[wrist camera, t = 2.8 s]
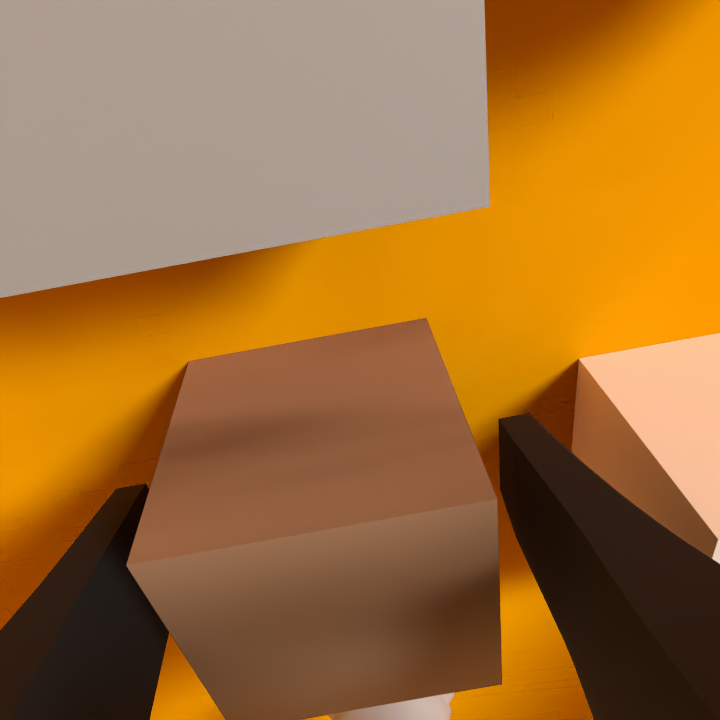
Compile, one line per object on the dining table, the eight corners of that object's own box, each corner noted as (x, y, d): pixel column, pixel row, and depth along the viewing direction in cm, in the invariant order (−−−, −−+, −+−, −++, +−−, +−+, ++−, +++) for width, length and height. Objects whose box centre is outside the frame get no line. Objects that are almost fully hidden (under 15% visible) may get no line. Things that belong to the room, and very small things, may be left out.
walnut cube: (442, 482, 14) (502, 684, 10) (252, 516, 14) (232, 731, 10) (425, 315, 11) (497, 498, 7) (189, 359, 11) (126, 565, 7)
